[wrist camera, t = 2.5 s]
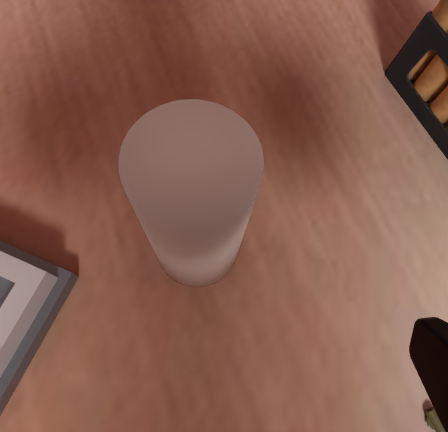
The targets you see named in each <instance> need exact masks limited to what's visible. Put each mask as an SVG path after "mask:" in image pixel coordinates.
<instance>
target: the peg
mask: <svg viewBox="0 0 448 432" xmlns="http://www.w3.org/2000/svg"><path fill="white" fill-rule="evenodd" d="M118 170H119V177H120V181H121V184H122V186H123V189H124V191H125V193H126V195H127V197H128V199H129V201H130V203H131V205H132V207H133V209H134V211H135V214H136V216H137V218H138V220H139V222H140V224H141V226H142V228H143V230H144V232H145V234H146V236H147V238H148V240H149V242H150V244H151V246H152V248H153V250H154V252H155V254H156V256H157V258H158V260H159V262H160V264H161V266H162V268H163V269H164V271H165V272H166V273H167V274H168V275H169V276H170V277H171V278H172V279H174V280H175V281H177V282H179V283H181V284H183V285H187V286H192V287H202V286H207V285H210V284H213V283H215V282H217V281H219V280H220V279H222V278H223V277H224V276H225V275H226V274H227V273H228V272H229V271H230V270H231V268H232V267H233V265H234V263H235V260H236V257H237V254H238V251H239V248H240V245H241V242H242V239H243V236H244V233H245V230H246V227H247V224H248V221H249V218H250V215H251V212H252V209H253V206H254V203H255V200H256V196H257V193H258V190H259V187H260V184H261V181H262V178H263V172H264V156H263V151H262V147H261V144H260V141H259V139H258V137H257V135H256V133H255V132H254V130H253V129H252V128H251V126H250V125H249V124H248V123H247V122H246V121H245V120H244V119H243V118H242V117H241V116H240V115H238V114H237V113H236V112H234V111H232V110H231V109H229V108H227V107H225V106H223V105H221V104H218V103H215V102H211V101H206V100H199V99H183V100H176V101H172V102H168V103H165V104H162V105H160V106H158V107H156V108H154V109H152V110H150V111H149V112H147V113H146V114H144V115H143V116H142V117H141V118H139V119H138V120H137V121H136V122H135V123H134V125H133V126H132V127H131V128H130V130H129V131H128V133H127V134H126V136H125V138H124V140H123V142H122V145H121V148H120V152H119V158H118Z"/></svg>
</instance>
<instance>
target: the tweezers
mask: <svg viewBox="0 0 448 432" xmlns="http://www.w3.org/2000/svg"><path fill="white" fill-rule="evenodd" d="M425 414H426V416H427V426H429V425H430V427H431V428H432V429H435V431H436V432H446V431H445V430H444V428H443V426H442V424H441V422H440V420H439V418H438V416H437V414H436V411H435V409H434V407H431V408H429V409H428V410H426V411H425Z"/></svg>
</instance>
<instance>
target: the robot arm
mask: <svg viewBox="0 0 448 432" xmlns="http://www.w3.org/2000/svg"><path fill="white" fill-rule="evenodd" d="M409 352H410V357H411V359H412V362H413V364H414V366H415V368H416V370H417V372H418V375H419V377H420V379H421V381H422V383H423V385H424V388H425V390H426V392H427V394H428V396H429V398H430V401H431V403H432V405H433V407H434V409H435V411H436V414H437V416H438V418H439V420H440V422H441V424H442V426H443V428H444V430H445V431H446V432H448V323H447V322H445V321H443V320H441V319H439V318H437V317H429V318H420V319H417V320H416V322H415V324H414V328H413V333H412V337H411V341H410V346H409Z"/></svg>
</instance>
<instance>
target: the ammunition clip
mask: <svg viewBox="0 0 448 432" xmlns="http://www.w3.org/2000/svg"><path fill="white" fill-rule="evenodd" d="M385 76H386V77H387V79H388V80H389V81H390V83H391V84H392V85H393V87H394V88H395V89H396V91H397V92H398V93H399V95H400V96H401V97H402V99H403V100H404V101H405V103H406V104H407V105H408V107H409V108H410V109H411V111H412V112H413V113H414V115H415V116H416V118H417V119H418V120H419V122H420V123H421V124H422V126H423V127H424V128H425V130H426V131H427V132H428V134H429V135H430V136H431V138H432V139H433V140H434V142H435V143H436V144H437V146H438V147H439V148H440V150H441V151H442V152H443V154H444V155H445V156H446V158H447V159H448V0H440V1H439V3H438V4H437V6H436V7H435V9H434V10H433V12H432V11H430V12H428V13H426V15H425V16H424V18H423V19H422V21H421V22H420V23H419V25H418V26H417V28H416V29H415V30H414V32H413V33H412V35H411V36H410V37H409V39H408V40H407V42H406V43H405V44H404V46H403V47H402V49H401V50H400V51H399V53H398V54H397V56H396V57H395V58H394V60H393V61H392V63H391V64H390V65H389V67H388V68H387V70H386V71H385Z"/></svg>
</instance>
